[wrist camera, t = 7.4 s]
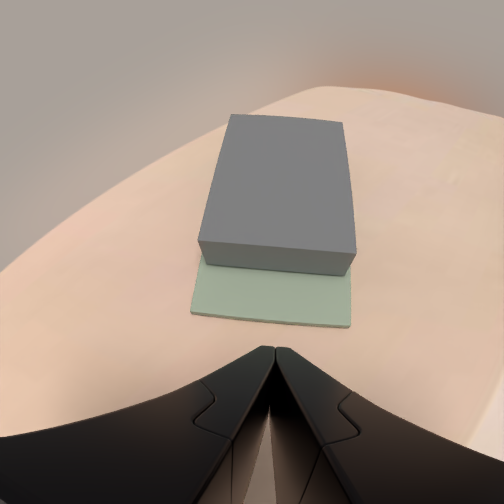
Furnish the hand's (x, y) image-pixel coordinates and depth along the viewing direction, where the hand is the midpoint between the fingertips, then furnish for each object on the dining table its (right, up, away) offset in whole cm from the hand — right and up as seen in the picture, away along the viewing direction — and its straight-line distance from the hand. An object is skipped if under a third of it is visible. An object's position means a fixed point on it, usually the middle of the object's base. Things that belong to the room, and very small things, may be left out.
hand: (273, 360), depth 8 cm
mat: (+1, +5, +14) cm, 15 cm away
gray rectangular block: (+1, +3, +10) cm, 10 cm away
